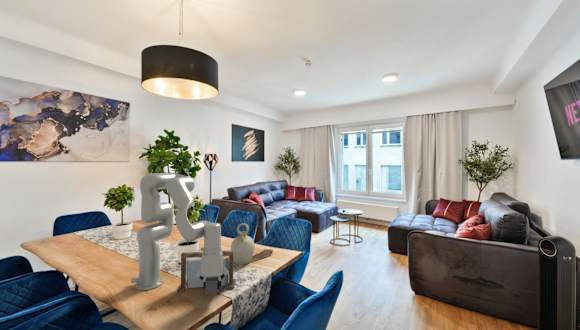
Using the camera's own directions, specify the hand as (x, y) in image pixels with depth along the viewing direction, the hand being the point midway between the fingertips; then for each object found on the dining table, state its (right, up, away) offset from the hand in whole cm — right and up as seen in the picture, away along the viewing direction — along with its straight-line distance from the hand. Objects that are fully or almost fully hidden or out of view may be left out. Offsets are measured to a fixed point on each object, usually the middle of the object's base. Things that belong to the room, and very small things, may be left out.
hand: (212, 288), depth 107 cm
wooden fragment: (+17, -7, +55) cm, 57 cm away
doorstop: (-1, -1, +4) cm, 4 cm away
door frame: (-7, -6, +13) cm, 16 cm away
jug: (+5, -6, +46) cm, 47 cm away
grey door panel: (-7, -6, +13) cm, 16 cm away
